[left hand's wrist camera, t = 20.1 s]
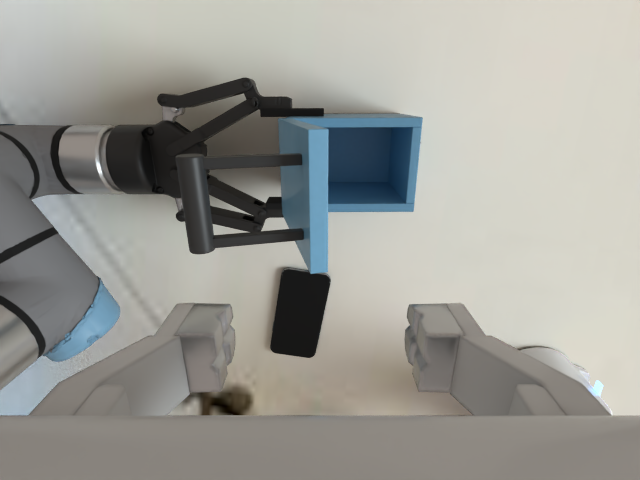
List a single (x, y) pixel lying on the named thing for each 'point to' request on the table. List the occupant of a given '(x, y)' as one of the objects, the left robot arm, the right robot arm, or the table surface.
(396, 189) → the chest
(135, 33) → the table surface
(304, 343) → the smartphone
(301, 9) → the table surface
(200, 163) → the lid
